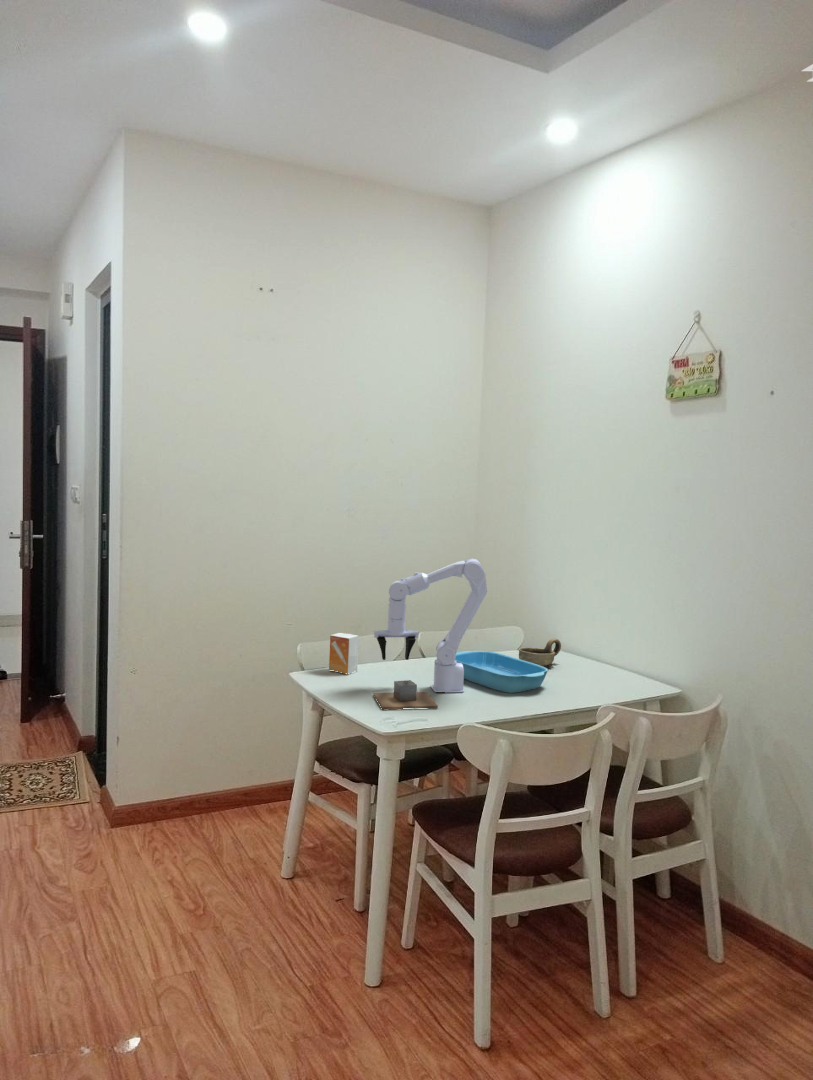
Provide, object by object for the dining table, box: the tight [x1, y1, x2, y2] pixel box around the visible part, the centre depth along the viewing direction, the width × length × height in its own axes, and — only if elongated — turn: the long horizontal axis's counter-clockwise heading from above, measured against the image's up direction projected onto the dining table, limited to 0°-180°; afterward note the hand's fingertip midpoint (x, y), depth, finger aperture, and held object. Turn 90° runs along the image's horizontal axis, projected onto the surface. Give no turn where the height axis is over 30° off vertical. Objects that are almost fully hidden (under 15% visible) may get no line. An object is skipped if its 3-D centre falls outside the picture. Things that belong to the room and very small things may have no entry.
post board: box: [373, 691, 439, 710], centre depth 249 cm, size 17×15×4 cm
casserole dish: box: [455, 650, 549, 694], centre depth 278 cm, size 37×22×7 cm, turn 39°
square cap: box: [393, 679, 418, 702], centre depth 249 cm, size 5×5×5 cm
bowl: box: [518, 637, 562, 667], centre depth 303 cm, size 14×18×10 cm
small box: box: [328, 632, 360, 674], centre depth 282 cm, size 8×6×13 cm
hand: (395, 659), depth 265 cm, fingers open, 7 cm apart
